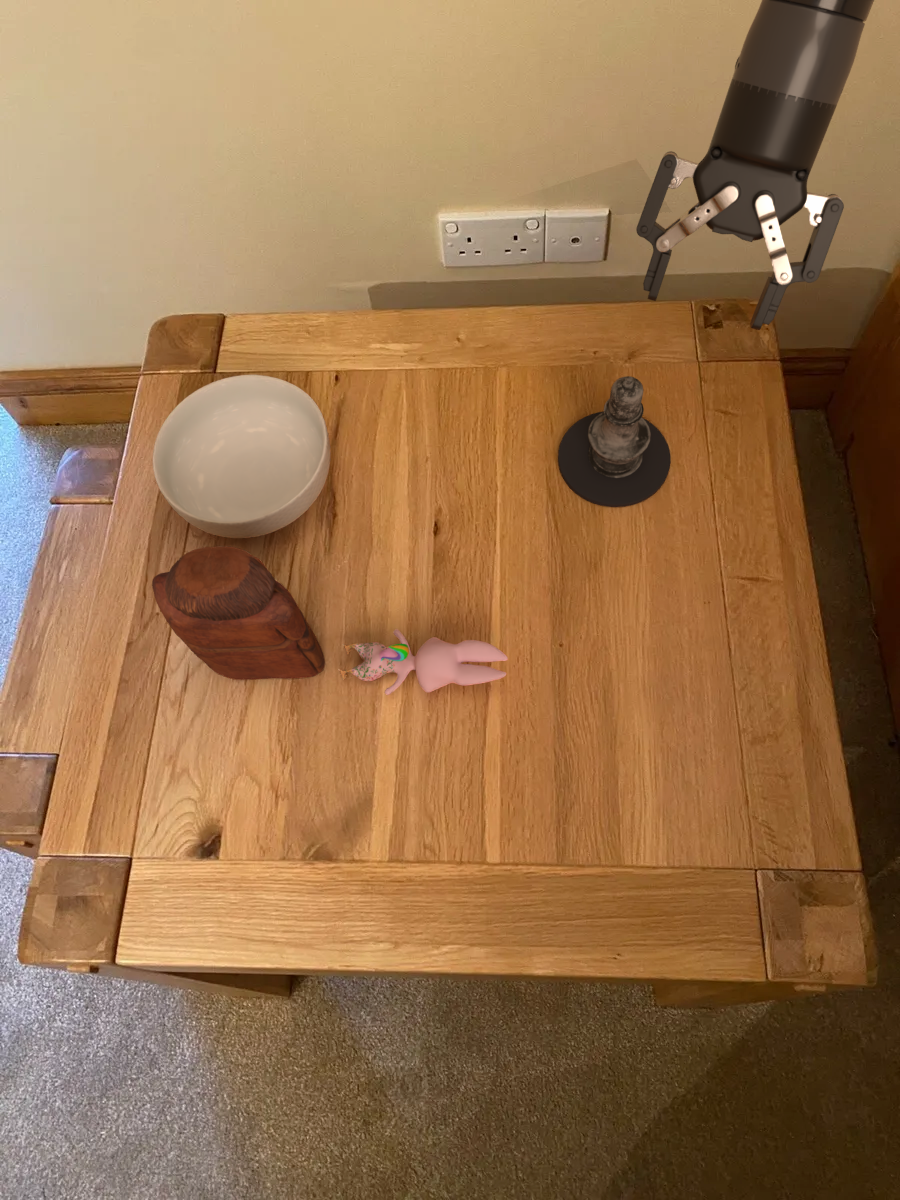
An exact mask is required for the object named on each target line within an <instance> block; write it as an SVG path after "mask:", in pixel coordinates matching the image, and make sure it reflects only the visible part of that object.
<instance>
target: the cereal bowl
mask: <svg viewBox="0 0 900 1200" xmlns="http://www.w3.org/2000/svg"><path fill="white" fill-rule="evenodd" d="M331 454H332V453H331V441H330V437H329V432H328V427H327V423H326V419H325V418H324V415H323V413H322V411H321V409H320V407H319V406H318V404H317V403H316V401H315V400H314V399H313V398H312V397H311V396H310V395H309V394H308V393H307V392H306V391H305V390H303V389H302V388H300V387H299V386H297V385H295V384H294V383H291V382H289V381H286V380H284V379H281V378H278V377H275V376H269V375H263V374H241V375H233V376H229V377H224V378H220V379H218V380H214V381H213V382H210V383H208V384H206V385H204V386H202V387H200V388H198V389H196V390H195V391H192V393H190V394H189V395H187V396H186V397H185V398H184V399H182V400H181V401H180V402H179V403H178V404H177V405H176V406H175V407H174V408H173V409H172V410H171V412H170V413H169V414H168V416H167V417H166V418H165V420H164V421H163V423H162V424H161V426H160V428H159V430H158V432H157V435H156V438H155V441H154V445H153V449H152V471H153V476H154V479H155V481H156V485H157V487H158V489H159V491H160V493H161V494H162V495H163V497H164V499H165V500H166V501H167V503H168V505H169V506H170V507H171V508H172V509H173V511H174V512H175V513H177V515H178V516H179V517H181V518H182V519H183V520H184V521H186V522H187V523H188V524H190V525H191V526H193V527H195V528H197V529H199V530H201V531H203V532H204V533H208V534H211V535H214V536H219V537H221V538H222V537H223V538H231V539H249V538H254V537H255V538H257V537H261V536H264V535H269V534H271V533H273V532H277V531H278V530H282V529H283V528H285V527H287V526H289V525H290V524H291V523H293V522H295V521H296V520H297V519H299V518H300V517H301V516H302V515H303V514H305V513H306V511H309V509H310V508H311V506H312V505H313V504H314V503H315V501H316V500H317V499H318V498H319V496H320V494H321V492H322V490H323V489H324V487H325V485H326V482H327V479H328V475H329V471H330V467H331Z"/></svg>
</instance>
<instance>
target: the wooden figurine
mask: <svg viewBox="0 0 900 1200" xmlns="http://www.w3.org/2000/svg"><path fill="white" fill-rule="evenodd" d="M151 586H152V591H153V596H154V599H155V602H156V605H157V606H158V609H159V611H160V612H161V614H162V615H163V618H164V619H165V621H166V622H167V624H168V625H169V627H170V628H171V630H172V631H173V633H174V634H175V635H176V636H177V637H178V638H179V639H180V640H181V641H182V642H183V643H184V644H185V645H186V647H187V648H188V649H190V651H191V652H192V653H193V654H194V655H195V656H196V657H197V658H198V659H199V660H201V661H202V662H203V663H204V664H205V665H206V666H207V667H208V668H209V669H211V670H212V671H213V672H214V673H216V674H218V675H220V676H223V677H225V678H228V679H231V680H238V681H245V680H247V681H248V680H249V681H250V680H251V681H252V680H268V679H271V680H272V679H283V680H284V679H286V680H290V679H303V678H304V679H305V678H313V677H315V676H318V674H320V673H321V672H323V671H324V669H325V665H326V659H325V655H324V651H323V649H322V647H321V645H320V643H319V640H318V639H317V636H316V635H315V633H314V631H313V629H312V628H311V626H310V624H309V623H308V621H307V620H306V618H305V616H304V613H303V612H302V610H301V609H300V607H299V605H298V603H297V601H296V600H295V599H294V597H293V595H292V593H290V591H289V590H288V589H287V588H286V587H285V586H284V585H283V584H282V583H281V582H280V581H278V580H276V579H275V577H274V576H273V574H272V572H270V571H269V569H268V568H267V566H266V565H265V564H264V563H263V562H262V560H261V559H260V558H259V557H257V556H253V554H252V553H250V552H248V551H247V550H245V549H243V548H239V547H235V546H230V545H228V546H224V545H223V546H222V545H221V546H203V547H199V548H195V549H192V550H190V551H188V552H186V553H184V554H183V555H181V556H180V557H179V559H178V560H176V562H175V563H174V564H173V565H172V566H171V568H170V570H169V571H165V572H161V573H158V574H156V575H155V576H153V578H152V582H151Z"/></svg>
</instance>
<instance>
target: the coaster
mask: <svg viewBox="0 0 900 1200" xmlns="http://www.w3.org/2000/svg"><path fill="white" fill-rule="evenodd" d="M602 412H604V410H603V411H597V412H594V413H591V414H588V415H585V416H584V417H582V418H580V419H578V421H576V422H575V423H573V424H572V425H571V426H570V427H569V428H568V429H567V430H566V432H565V433H564V435H563V437H562V438H561V441H560V443H559V446H558V452H557V463H558V464H557V465H558V469H559V472H560V475H561V477H562V480H563V481H564V482H565V484H566V485H567V486H568V487H569V489H570V490H571V491H572V492H573V493H574V494H576V495H577V496H579V497H580V498H581V499H583V500H585V501H587V502H590V503H591V504H594V505H596V506H597V505H598V506H602V507H607V508H624V507H630V506H634V505H637V504H640V503H641V502H644V501H646V500H648V499H649V498H651V497H652V496H653V495H655V494H656V493H657V492H658V491H659V490H660V489H661V487H662V486H663V485H664V483H665V481H666V479H667V478H668V475H669V472H670V469H671V462H672V459H671V458H672V456H671V450H670V447H669V444H668V442H667V440H666V438H665V436H664V435H663V433H662V431H660V430H659V428H658V427H656V426H655V424H653V423H652V422H651V421H649V420H647V419H646V418H644V417H642V418H643V419H644V420H645V421H646V423H647V425H648V426H649V429H650V442H649V444H648V446H647V448H646V449H645V451H644V452H643V453H642V454H643V456H642V462H641V464H640V466H639V467H638V469H637V470H636V471H635V472H633V473H632V474H630V475H628V476H625V477H620V478H613V477H607V476H604V475H602V474H600V473H599V472H597V471H596V470H595V469H594V468H593V467H592V465H591V463H590V461H589V456H588V454H589V448H590V446H591V444H590V442H589V438H588V431H589V426H590V424H591V422H592V421H593V420H594V419H595V417H596V416H598V415H599V414H601V413H602Z"/></svg>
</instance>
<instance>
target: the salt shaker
mask: <svg viewBox="0 0 900 1200" xmlns="http://www.w3.org/2000/svg"><path fill="white" fill-rule="evenodd" d="M644 391H645V390H644V386H643V384H642V381H640V379H638V378H636V377H634V376H630V375H625V376H621V377H619V378H618V379H616V380H615V381H614V382H613V384H612V386H611V388H610V394H609V398H608V399H607V400H606V402H605V403H604V405H603V411H604V412H603V411H601V412H602V413H601V414H599V415H598V416H596V417H595V419H594V420H593V421H592V422H591V424H590V426H589V431H588V438H589V442H590V444H591V446H590V448H589V454H588V456H589V461H590V463H591V465H592V467H593V468H594V469H595V470H596V471H597V472H599V473H600V474H602V475H604V476H607V477H613V478H620V477H625V476H628V475H630V474H632V473H633V472H635V471H636V470H637V469H638V467H639V466H640V464H641V462H642V456H643V454H642V453H643V452H644V451H645V449H646V448H647V446H648V444H649V442H650V429H649V426H648V425H647V423H646V421H645V420H644V419H645V418H644V417H643V416H644V410H645V408H644V404H643V401H642V400H643V396H644ZM643 418H644V419H643Z"/></svg>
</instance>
